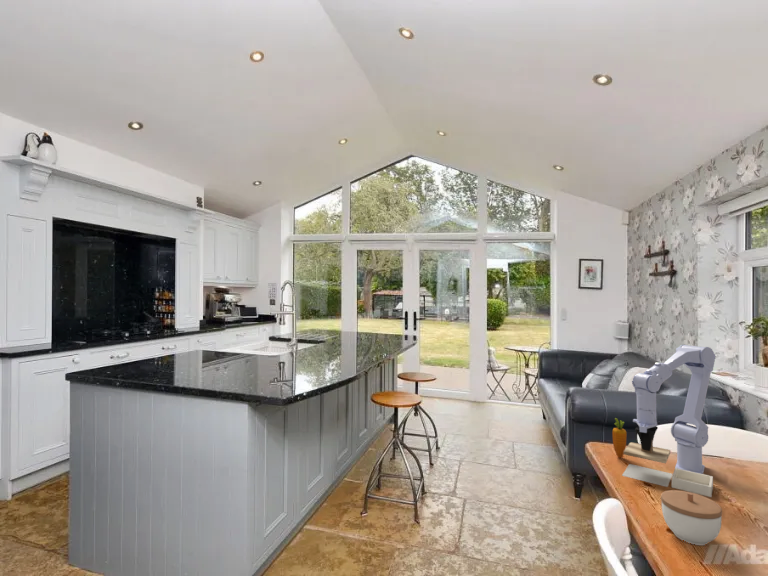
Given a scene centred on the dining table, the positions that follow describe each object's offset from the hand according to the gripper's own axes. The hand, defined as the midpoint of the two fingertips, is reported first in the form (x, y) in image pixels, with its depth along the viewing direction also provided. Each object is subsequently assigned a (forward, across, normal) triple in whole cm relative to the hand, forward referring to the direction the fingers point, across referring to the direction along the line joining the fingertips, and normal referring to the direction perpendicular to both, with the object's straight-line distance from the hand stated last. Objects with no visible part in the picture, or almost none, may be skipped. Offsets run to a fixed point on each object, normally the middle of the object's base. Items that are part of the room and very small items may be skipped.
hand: (647, 448), depth 141 cm
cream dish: (+9, +1, +12) cm, 16 cm away
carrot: (+10, -11, -10) cm, 18 cm away
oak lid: (+2, 0, 0) cm, 2 cm away
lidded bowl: (+10, +35, +14) cm, 39 cm away
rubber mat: (+9, 0, 0) cm, 9 cm away
